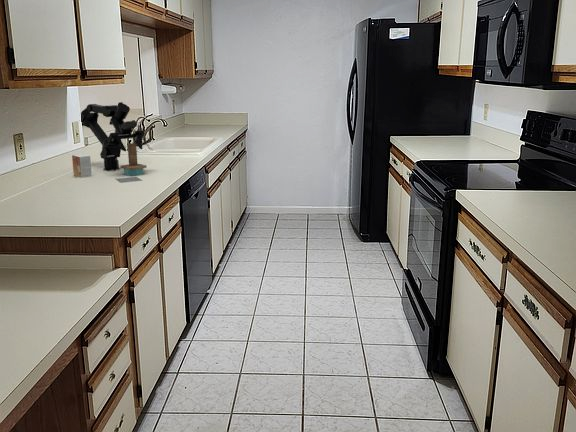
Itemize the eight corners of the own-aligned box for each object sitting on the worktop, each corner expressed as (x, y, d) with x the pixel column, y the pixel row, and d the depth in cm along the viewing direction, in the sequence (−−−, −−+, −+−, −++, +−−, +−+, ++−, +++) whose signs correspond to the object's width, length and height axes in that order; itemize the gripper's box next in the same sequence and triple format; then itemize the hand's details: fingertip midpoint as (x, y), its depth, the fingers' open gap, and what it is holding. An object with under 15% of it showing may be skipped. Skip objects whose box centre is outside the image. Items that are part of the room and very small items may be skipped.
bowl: (121, 174, 276) (120, 167, 275) (136, 172, 283) (136, 165, 282) (131, 177, 270) (130, 170, 269) (146, 174, 277) (146, 167, 276)
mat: (115, 179, 265) (114, 178, 265) (136, 177, 270) (136, 176, 270) (120, 183, 256) (120, 182, 256) (142, 181, 261) (142, 180, 261)
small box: (73, 176, 273) (71, 155, 270) (84, 174, 277) (82, 153, 274) (81, 178, 267) (79, 156, 265) (92, 176, 271) (90, 155, 269)
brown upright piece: (120, 167, 275) (118, 143, 272) (136, 165, 282) (134, 142, 279) (130, 170, 269) (128, 145, 266) (146, 167, 276) (145, 143, 273)
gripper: (108, 116, 264) (122, 141, 260) (141, 113, 278) (155, 137, 274) (101, 131, 272) (114, 156, 267) (133, 128, 285) (147, 151, 281)
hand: (133, 149), depth 272 cm, fingers open, 9 cm apart
